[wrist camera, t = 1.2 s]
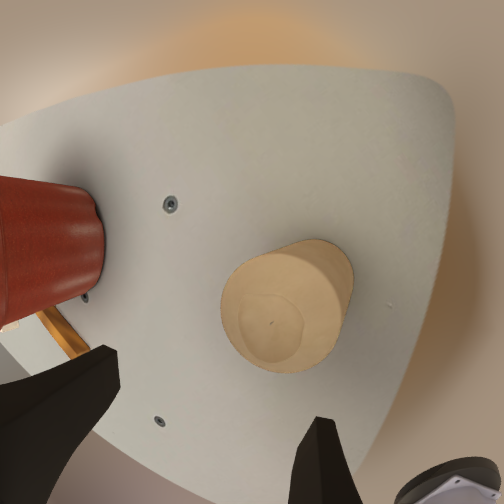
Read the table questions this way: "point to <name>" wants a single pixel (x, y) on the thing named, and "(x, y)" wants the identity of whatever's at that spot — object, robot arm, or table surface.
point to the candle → (288, 305)
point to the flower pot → (45, 246)
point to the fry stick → (62, 332)
